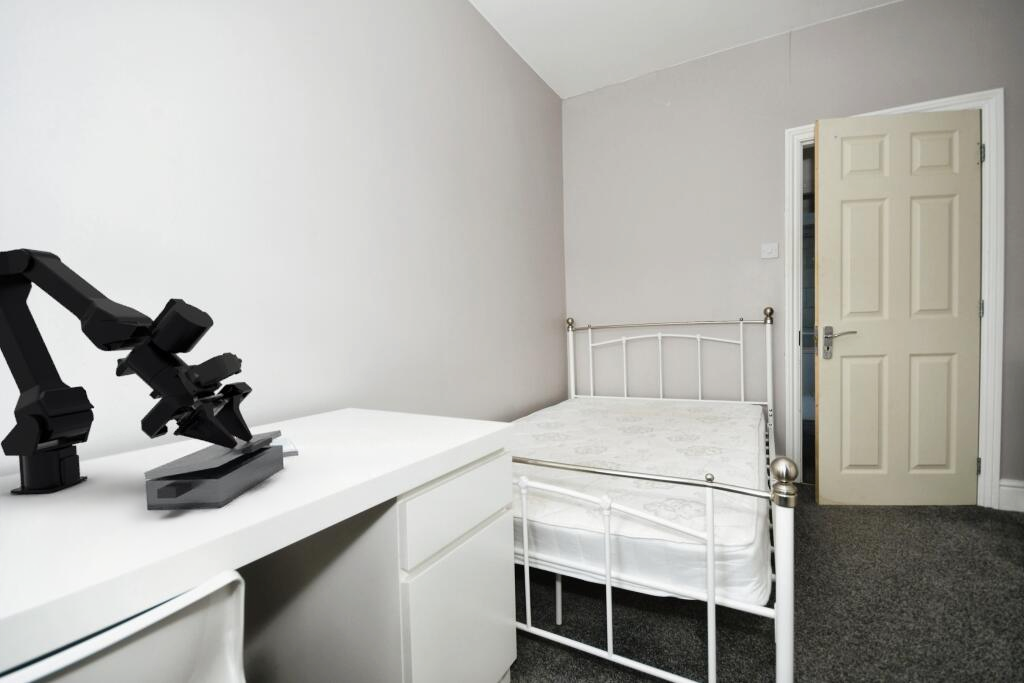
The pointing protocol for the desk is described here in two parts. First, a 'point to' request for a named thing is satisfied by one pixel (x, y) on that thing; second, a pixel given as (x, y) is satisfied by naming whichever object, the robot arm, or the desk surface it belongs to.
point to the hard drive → (286, 447)
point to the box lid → (212, 456)
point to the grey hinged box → (214, 481)
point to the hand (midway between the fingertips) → (243, 443)
